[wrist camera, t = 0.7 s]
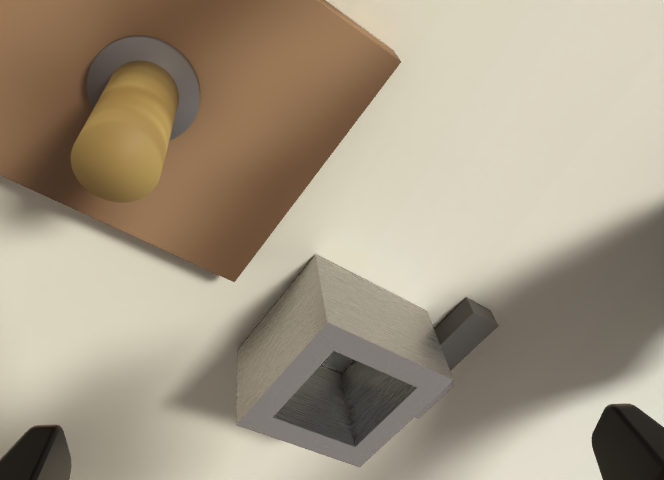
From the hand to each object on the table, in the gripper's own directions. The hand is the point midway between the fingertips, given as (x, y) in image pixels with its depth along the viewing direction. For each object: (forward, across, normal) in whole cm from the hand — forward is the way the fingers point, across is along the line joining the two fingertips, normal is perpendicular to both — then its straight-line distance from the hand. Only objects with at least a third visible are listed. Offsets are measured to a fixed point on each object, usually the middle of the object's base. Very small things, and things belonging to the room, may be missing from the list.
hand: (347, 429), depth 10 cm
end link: (+13, -2, +10) cm, 16 cm away
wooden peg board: (+13, +5, -2) cm, 14 cm away
